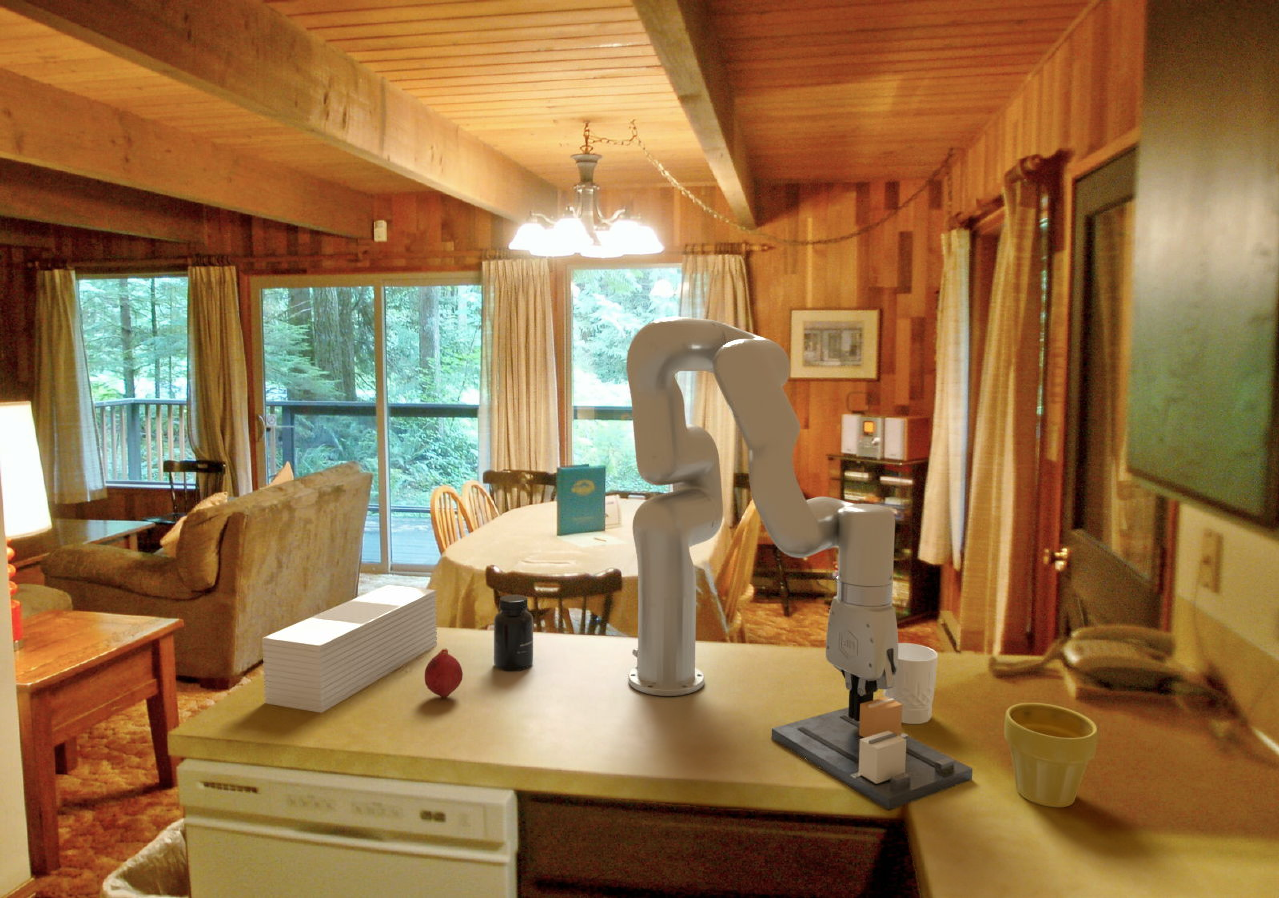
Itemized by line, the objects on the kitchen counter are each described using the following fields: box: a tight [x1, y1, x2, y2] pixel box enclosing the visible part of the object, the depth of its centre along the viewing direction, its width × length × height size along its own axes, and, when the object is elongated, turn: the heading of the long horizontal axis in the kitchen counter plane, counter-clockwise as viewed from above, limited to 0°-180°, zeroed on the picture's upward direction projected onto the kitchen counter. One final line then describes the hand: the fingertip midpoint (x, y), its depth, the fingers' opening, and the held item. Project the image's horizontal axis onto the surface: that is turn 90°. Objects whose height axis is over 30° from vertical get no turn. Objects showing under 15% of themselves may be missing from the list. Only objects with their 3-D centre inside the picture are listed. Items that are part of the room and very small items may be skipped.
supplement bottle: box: [493, 594, 534, 672], centre depth 148 cm, size 7×7×12 cm
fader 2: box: [859, 731, 906, 784], centre depth 107 cm, size 3×5×5 cm, turn 120°
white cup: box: [883, 642, 939, 725], centre depth 128 cm, size 8×8×10 cm
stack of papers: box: [261, 584, 438, 713], centre depth 144 cm, size 32×11×11 cm, turn 161°
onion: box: [424, 647, 464, 699], centre depth 134 cm, size 6×6×8 cm
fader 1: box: [859, 696, 903, 738], centre depth 118 cm, size 3×5×5 cm, turn 120°
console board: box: [771, 706, 973, 811], centre depth 115 cm, size 22×15×3 cm
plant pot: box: [1003, 702, 1099, 808], centre depth 105 cm, size 10×10×10 cm
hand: (860, 717), depth 121 cm, fingers closed
